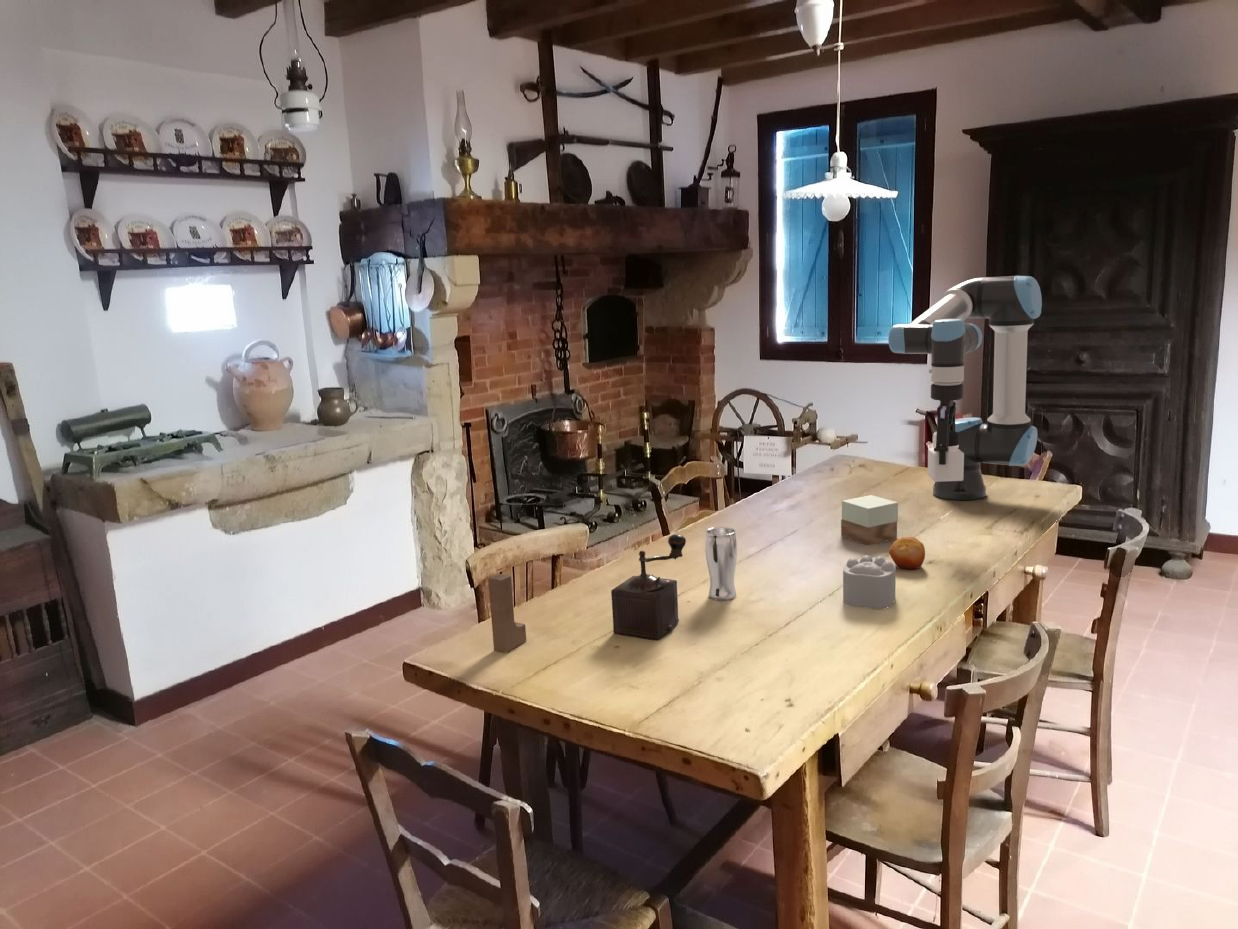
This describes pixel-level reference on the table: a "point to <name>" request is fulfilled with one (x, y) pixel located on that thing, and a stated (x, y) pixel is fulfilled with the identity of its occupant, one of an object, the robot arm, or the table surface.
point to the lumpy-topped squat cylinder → (869, 582)
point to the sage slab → (870, 511)
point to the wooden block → (504, 615)
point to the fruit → (907, 553)
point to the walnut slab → (868, 532)
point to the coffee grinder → (647, 600)
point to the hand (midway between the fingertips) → (945, 472)
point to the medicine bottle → (954, 460)
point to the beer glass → (721, 562)
